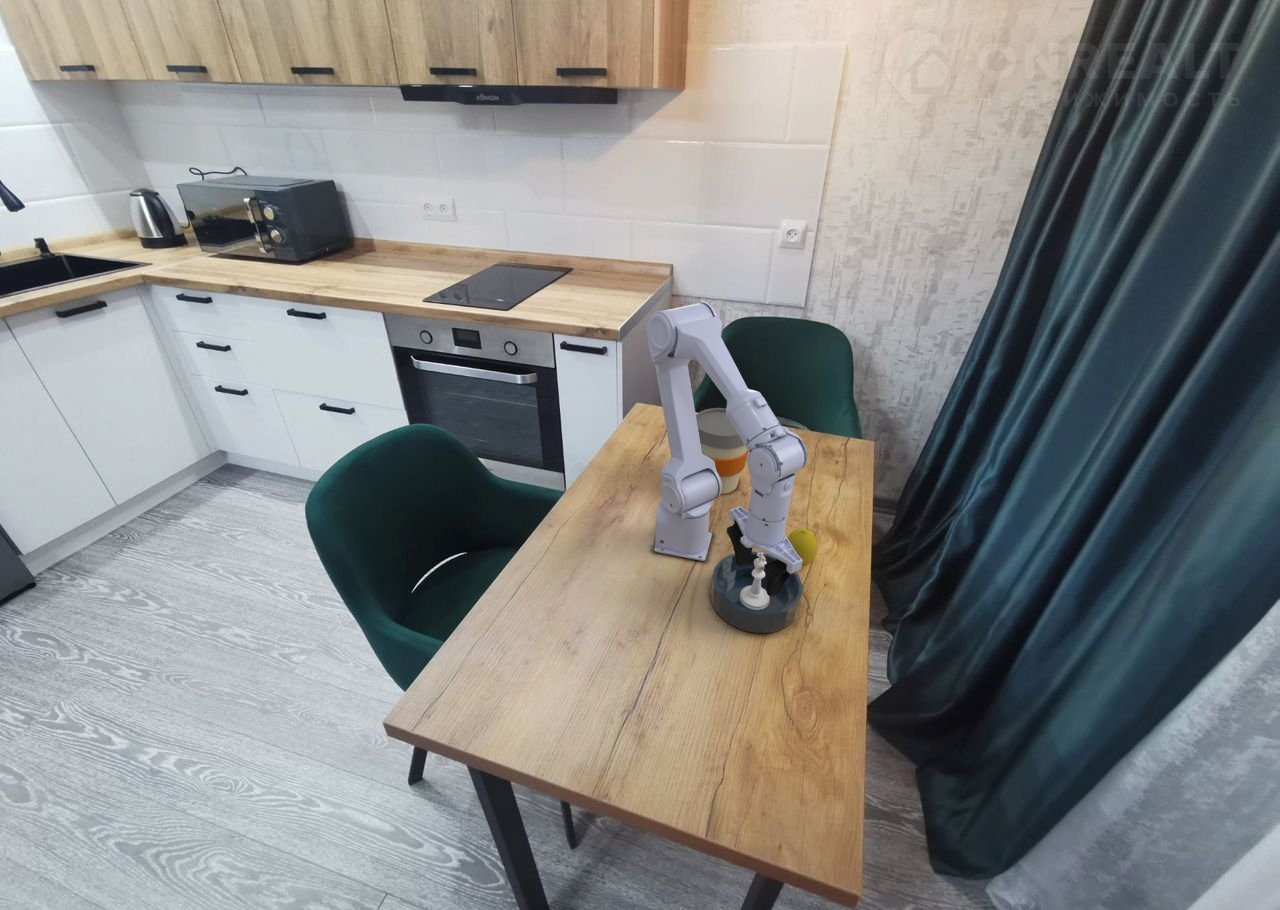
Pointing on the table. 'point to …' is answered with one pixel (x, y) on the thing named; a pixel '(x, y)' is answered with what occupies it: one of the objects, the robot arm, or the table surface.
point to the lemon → (804, 545)
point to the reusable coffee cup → (722, 446)
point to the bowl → (729, 607)
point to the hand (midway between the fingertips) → (757, 577)
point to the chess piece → (756, 587)
